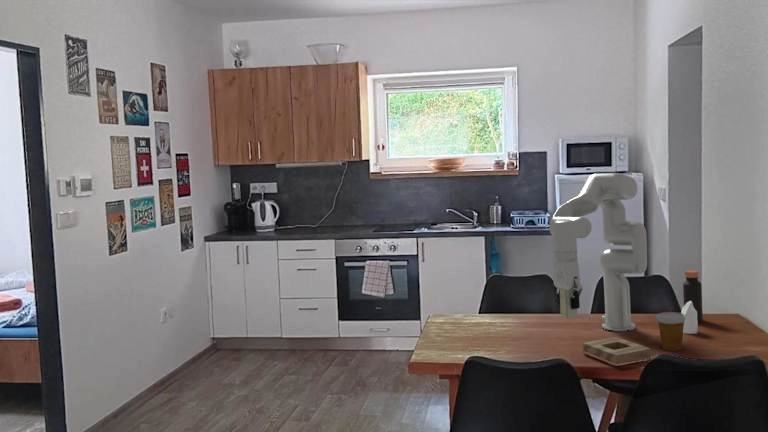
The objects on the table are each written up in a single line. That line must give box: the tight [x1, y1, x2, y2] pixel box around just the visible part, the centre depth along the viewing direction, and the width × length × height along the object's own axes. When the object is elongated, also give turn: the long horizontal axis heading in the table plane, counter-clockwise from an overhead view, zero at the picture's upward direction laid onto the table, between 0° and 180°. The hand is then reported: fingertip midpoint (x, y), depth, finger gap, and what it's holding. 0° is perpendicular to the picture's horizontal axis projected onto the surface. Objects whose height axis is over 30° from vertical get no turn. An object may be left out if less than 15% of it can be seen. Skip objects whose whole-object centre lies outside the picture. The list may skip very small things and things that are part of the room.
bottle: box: [682, 269, 704, 323], centre depth 287 cm, size 7×7×20 cm
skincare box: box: [559, 284, 578, 319], centre depth 249 cm, size 6×4×12 cm
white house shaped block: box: [680, 301, 699, 335], centre depth 272 cm, size 6×12×6 cm
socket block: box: [582, 336, 652, 364], centre depth 248 cm, size 18×14×4 cm
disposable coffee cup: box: [656, 311, 685, 352], centre depth 253 cm, size 10×10×12 cm
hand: (568, 306), depth 249 cm, fingers closed on skincare box, 6 cm apart
